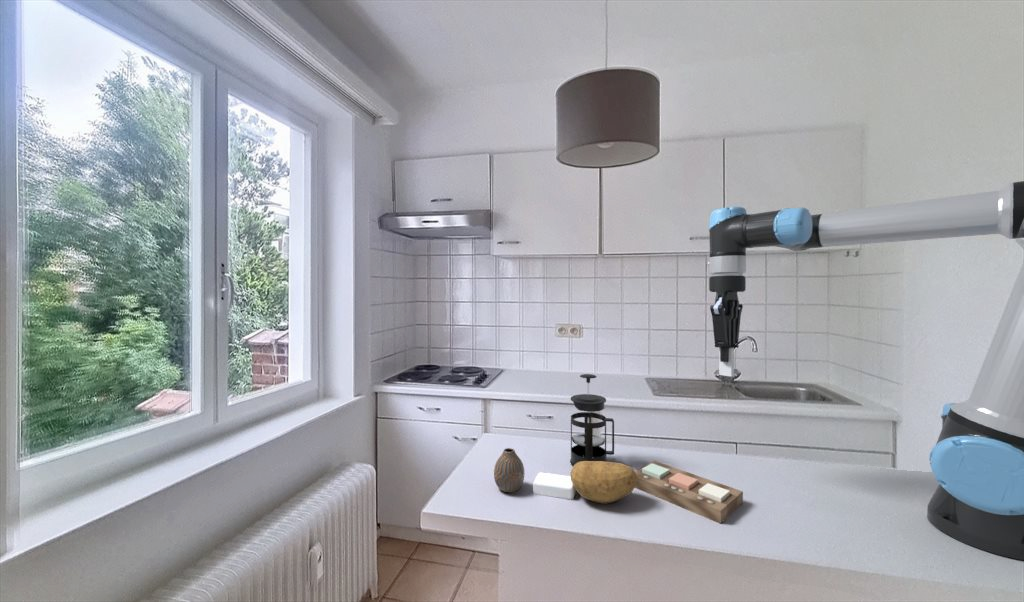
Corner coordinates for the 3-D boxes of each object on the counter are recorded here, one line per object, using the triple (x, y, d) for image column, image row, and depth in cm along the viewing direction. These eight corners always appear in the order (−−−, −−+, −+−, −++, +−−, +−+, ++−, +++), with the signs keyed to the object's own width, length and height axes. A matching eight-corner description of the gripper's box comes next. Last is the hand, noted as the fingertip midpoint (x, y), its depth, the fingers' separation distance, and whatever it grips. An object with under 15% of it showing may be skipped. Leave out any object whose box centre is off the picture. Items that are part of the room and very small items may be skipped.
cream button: (729, 505, 82) (729, 490, 82) (720, 513, 79) (720, 498, 79) (707, 496, 85) (707, 483, 85) (698, 504, 82) (698, 489, 82)
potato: (643, 513, 79) (643, 473, 79) (572, 511, 80) (572, 472, 80) (631, 489, 89) (631, 453, 89) (568, 487, 90) (568, 452, 90)
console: (742, 503, 83) (742, 490, 83) (720, 523, 76) (720, 509, 76) (654, 470, 98) (654, 459, 98) (628, 485, 91) (628, 473, 91)
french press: (567, 470, 99) (566, 378, 98) (567, 454, 108) (567, 370, 107) (615, 473, 97) (615, 379, 96) (612, 457, 106) (612, 371, 105)
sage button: (669, 482, 92) (669, 469, 91) (659, 488, 89) (659, 475, 89) (652, 475, 95) (652, 463, 95) (641, 481, 92) (641, 468, 92)
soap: (577, 489, 90) (577, 476, 90) (573, 501, 85) (573, 487, 84) (538, 483, 93) (538, 470, 92) (532, 495, 87) (532, 481, 87)
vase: (529, 492, 88) (529, 453, 87) (499, 498, 85) (499, 458, 85) (518, 479, 94) (517, 442, 94) (490, 484, 92) (489, 446, 92)
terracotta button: (697, 493, 87) (697, 479, 86) (688, 500, 84) (688, 486, 84) (678, 485, 90) (678, 472, 90) (668, 492, 87) (668, 478, 87)
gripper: (721, 276, 100) (721, 369, 101) (698, 275, 92) (697, 376, 92) (755, 275, 95) (754, 373, 95) (733, 273, 86) (732, 382, 87)
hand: (726, 375), depth 94 cm, fingers closed
